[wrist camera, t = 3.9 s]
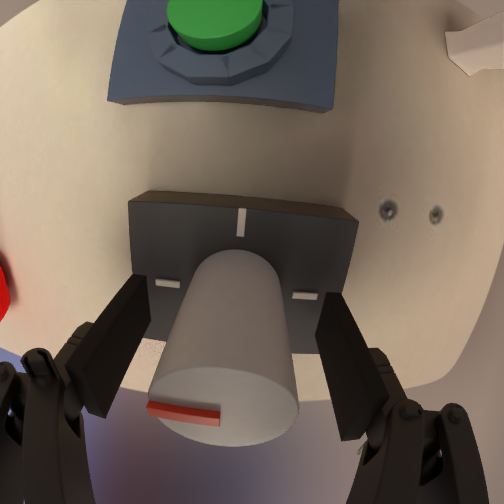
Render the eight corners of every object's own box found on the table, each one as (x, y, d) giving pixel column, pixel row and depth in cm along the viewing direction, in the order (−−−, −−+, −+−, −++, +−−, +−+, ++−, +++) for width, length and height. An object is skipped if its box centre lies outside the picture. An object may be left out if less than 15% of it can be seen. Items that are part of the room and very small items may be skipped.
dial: (286, 253, 14) (318, 379, 6) (273, 328, 16) (284, 455, 8) (192, 244, 14) (130, 360, 6) (192, 320, 16) (158, 442, 8)
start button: (265, -11, 8) (266, -28, 7) (257, 53, 10) (258, 40, 8) (183, -10, 8) (175, -26, 6) (170, 53, 10) (158, 41, 8)
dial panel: (342, 207, 16) (360, 222, 13) (315, 327, 19) (323, 356, 17) (147, 190, 16) (126, 201, 13) (154, 312, 19) (140, 339, 16)
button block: (329, 5, 11) (347, -24, 7) (322, 113, 14) (344, 105, 10) (142, 0, 11) (119, -25, 7) (123, 104, 14) (89, 98, 10)
